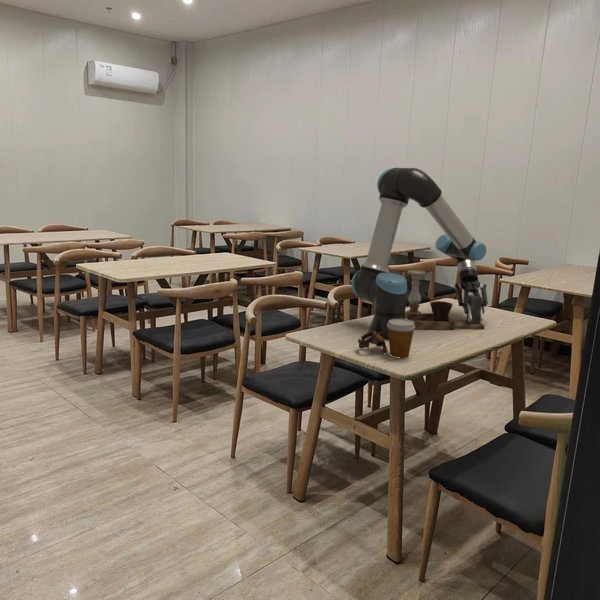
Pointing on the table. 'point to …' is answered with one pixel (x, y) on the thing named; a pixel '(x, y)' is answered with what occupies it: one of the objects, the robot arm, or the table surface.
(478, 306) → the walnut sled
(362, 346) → the dark brown arched piece
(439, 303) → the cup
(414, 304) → the candle holder
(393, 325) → the disposable coffee cup
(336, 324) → the table surface
